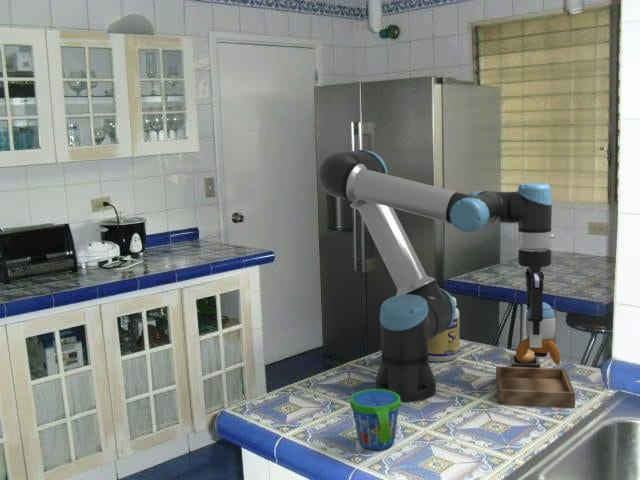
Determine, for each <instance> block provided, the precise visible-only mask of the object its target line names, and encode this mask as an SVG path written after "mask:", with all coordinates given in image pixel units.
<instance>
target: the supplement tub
mask: <svg viewBox="0 0 640 480" xmlns="http://www.w3.org/2000/svg"><path fill="white" fill-rule="evenodd" d="M451 297H452V298H453V300H454V303H455V307H456V306H457V305H458V304H457V298H456V297H454V296H451ZM460 331H461V330H460V311H459V309H458V308H457V307H456V314H455V318H454V321H453V322H452V324H451V325H450V326H449V327H448V328H447V329H446V330H445V331H444V332H443V333H441V334H439V335H436V336H435V337H433V338H432V339H430V340H429V341H428V361H429V362H436V363H437V362H439V363H441V362H442V363H443V362H449V361H450V362H451V361H453V360H456V359H457V358H458V357H459V355H460V353H461V352H460V351H461V349H460V346H461V345H460V344H461V343H460V342H461V341H460V340H461V339H460V333H461V332H460Z"/></svg>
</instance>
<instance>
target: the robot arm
mask: <svg viewBox="0 0 640 480" xmlns="http://www.w3.org/2000/svg"><path fill="white" fill-rule="evenodd" d="M317 172H318V174H317V176H318V177H317V178H318V182H319V185H320V187H321V188H322V189H323V191H324V192H325V193H327V194H328V195H329V196H332V197H335V198H339V199H343V200H346V201H347V202H348V204H349V207H350V208H352V209H356V210H358V212H359V214H360V217H361V218H362V219H363V222H364V224H365V226H366V228H367V230H368V232H369V234H370V237H371V238H372V241H373V242H374V244H375V246H376V249H377V251H378V253H379V255H380V257H381V259H382V260H383V262H384V264H385V266H386V268H387V271H388V273H389V275H390V277H391V279H392V281H393V283H394V285H395V287H396V290H397V291H396V295H393V296H392V297H389V298H387V299H386V300H384V301H383V303H382V304H381V306H380V314H379V322H380V346H381V347H380V348H381V349H380V353H381V354H380V355H381V361H380V362H381V363H380V365H379V368H378V372H377V376H376V379H375V382H374V383H375V384H374V385H375V386H374V389H383V390H389V391H393V392H395V393H397V394H398V395H399V396H400V400H401V403H402V402H407V403H408V402H409V403H410V402H411V403H412V402H418V401H424V400H427V399H429V398H432V397H433V396H434V395H436V392H437V382H436V379H435V376H434V373H433V370H432V368H431V365H430V361H428V341H429V340H430V339H432V338H433V337H435V336H436V335H439V334H441V333H443V332H444V331H445V330H446V329H447V328H448V327H449V326H450V325H451V324H452V322H453V321H454V318H455V314H456V308H457V307H456V306H455V303H454V300H453V298H452V297H453V296H452V297H451V294H450V293H449V292H448V291H446V290H444V289H443V288H440V286H439V284H438V282H437V280H436V278H435V277H432V276H430V275H429V276H428V275H427V273H426V271H425V269H424V267H423V265H422V263H421V261H420V259H419V257H418V255H417V253H416V251H415V249H414V247H413V245H412V243H411V241H410V239H409V237H408V235H407V233H406V231H405V229H404V226H403V224H402V223H401V222H400V219H399V217H398V214H397V213H396V211H395V209H396V210H399V211H402V212H406V213H410V214H414V215H418V216H421V217H425V218H429V219H432V220H436V221H440V222H444V223H447V224H450V225H452V226H454V227H455V228H456V229H457V230H459V231H460V232H463V233H464V232H466V233H469V232H476V231H479V230H482V229H484V228H485V227H489V226H491V225H494V224H496V223H497V224H499V223H500V224H501V223H502V224H517V225H518V227H517V228H518V230H517V247H518V248H519V250H518V251H517V252H518V254H517V262H518V265H520V266H521V267H525V268H526V270H525V273H524V274H525V275H524V276H525V284H526V285H525V288H526V303H525V305H526V310H527V311H526V313H527V312H528V309H529V308H530V313H531V317H530V318H528V319H527V321H530V347H536V348H542V321H543V302H544V301H543V300H544V299H543V295H544V294H543V293H544V280H545V274H544V273H543V271H541V270H542V269H541V268H543V267H544V268H546V267H548V266H551V265H552V250H551V249H550V248H551V247H552V240H553V239H554V238H555V235H554V234H552V218H553V217H552V214H553V212H552V210H553V209H552V208H553V200H552V199H553V198H552V187H551V185H550V184H548V183H546V182H545V183H544V182H526V183H520V184H519V185H518V188H517V190H516V191H491V190H490V191H488V190H482V191H474V192H471V193H470V194H466V193H463V192H459V191H454V190H451V189H447V188H443V187H439V186H435V185H430V184H427V183H422V182H419V181H415V180H410V179H407V178H403V177H398V176H396V175H390V174H388V168H387V165H386V163H385V161H384V159H383V158H382V157H381V156H380V155H379V154H377V153H376V152H373V151H370V150H365V149H356V150H352V151H351V150H350V151H343V152H342V151H341V152H340V151H339V152H334V153H332V154H329V155H328V156H327V157H325V158H324V159H323V161H322V162H321V164H320V165H319V168H318V171H317Z"/></svg>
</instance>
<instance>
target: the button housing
mask: <svg viewBox="0 0 640 480" xmlns="http://www.w3.org/2000/svg"><path fill="white" fill-rule="evenodd" d="M509 365H510V366H509V367H531V368H541V363H540V360H539V357H537V356H535V355H534V361H533V362H529V363H524V362H519V361H517V360H516V354H510V363H509Z"/></svg>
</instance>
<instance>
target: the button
mask: <svg viewBox="0 0 640 480" xmlns="http://www.w3.org/2000/svg"><path fill="white" fill-rule="evenodd" d="M534 356H535V355H534V352H533V351H532V350H529V349H528V351H527V353H526V354H525V356H524V357H523V358H522V359H521V360H518V359H517V357H516V360H517V361H519V362H524V363H529V362H533V361H534Z"/></svg>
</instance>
